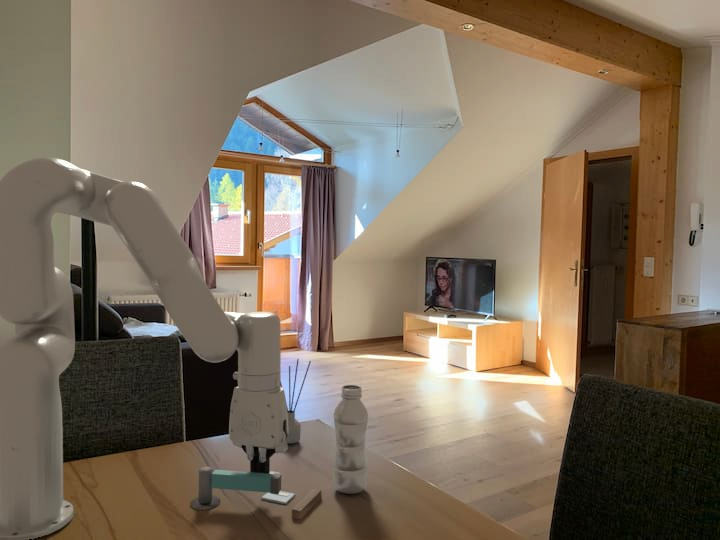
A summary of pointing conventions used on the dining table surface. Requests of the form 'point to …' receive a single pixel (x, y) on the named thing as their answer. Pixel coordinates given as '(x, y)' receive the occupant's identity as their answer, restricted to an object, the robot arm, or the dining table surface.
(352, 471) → the plastic bottle
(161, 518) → the dining table surface
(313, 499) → the sill
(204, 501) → the boom bar
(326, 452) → the dining table surface
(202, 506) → the pivot plate
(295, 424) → the reed diffuser
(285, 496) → the label cards
